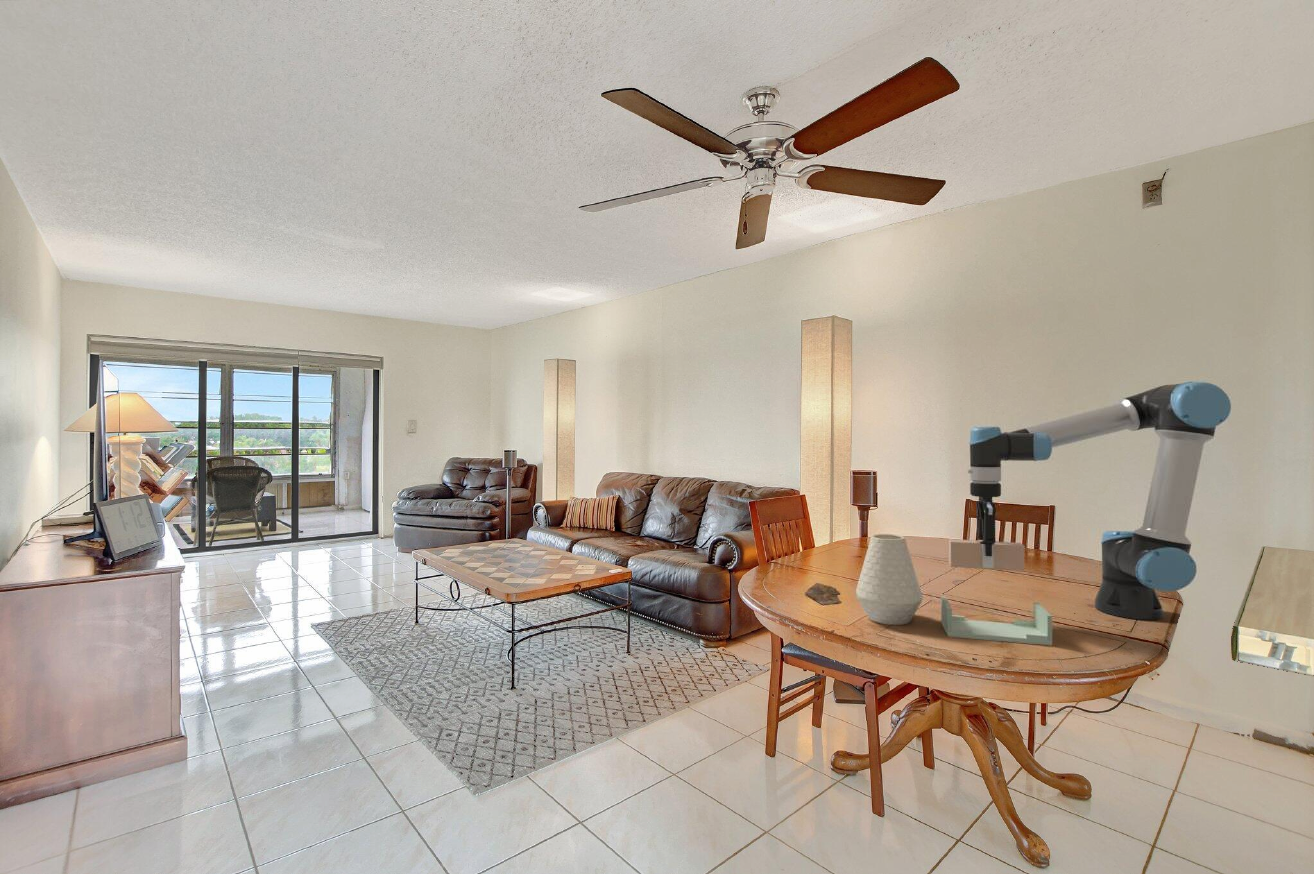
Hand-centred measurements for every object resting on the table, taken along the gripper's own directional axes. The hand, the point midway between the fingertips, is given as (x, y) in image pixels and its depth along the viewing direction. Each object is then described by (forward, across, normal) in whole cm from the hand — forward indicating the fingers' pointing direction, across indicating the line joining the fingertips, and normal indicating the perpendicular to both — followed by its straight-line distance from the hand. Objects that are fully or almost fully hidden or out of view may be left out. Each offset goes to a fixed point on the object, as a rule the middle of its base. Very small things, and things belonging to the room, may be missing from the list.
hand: (985, 565), depth 164 cm
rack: (+15, +14, -1) cm, 20 cm away
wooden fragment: (+15, -12, -45) cm, 49 cm away
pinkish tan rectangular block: (+1, 0, 0) cm, 1 cm away
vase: (+15, +9, -26) cm, 31 cm away
